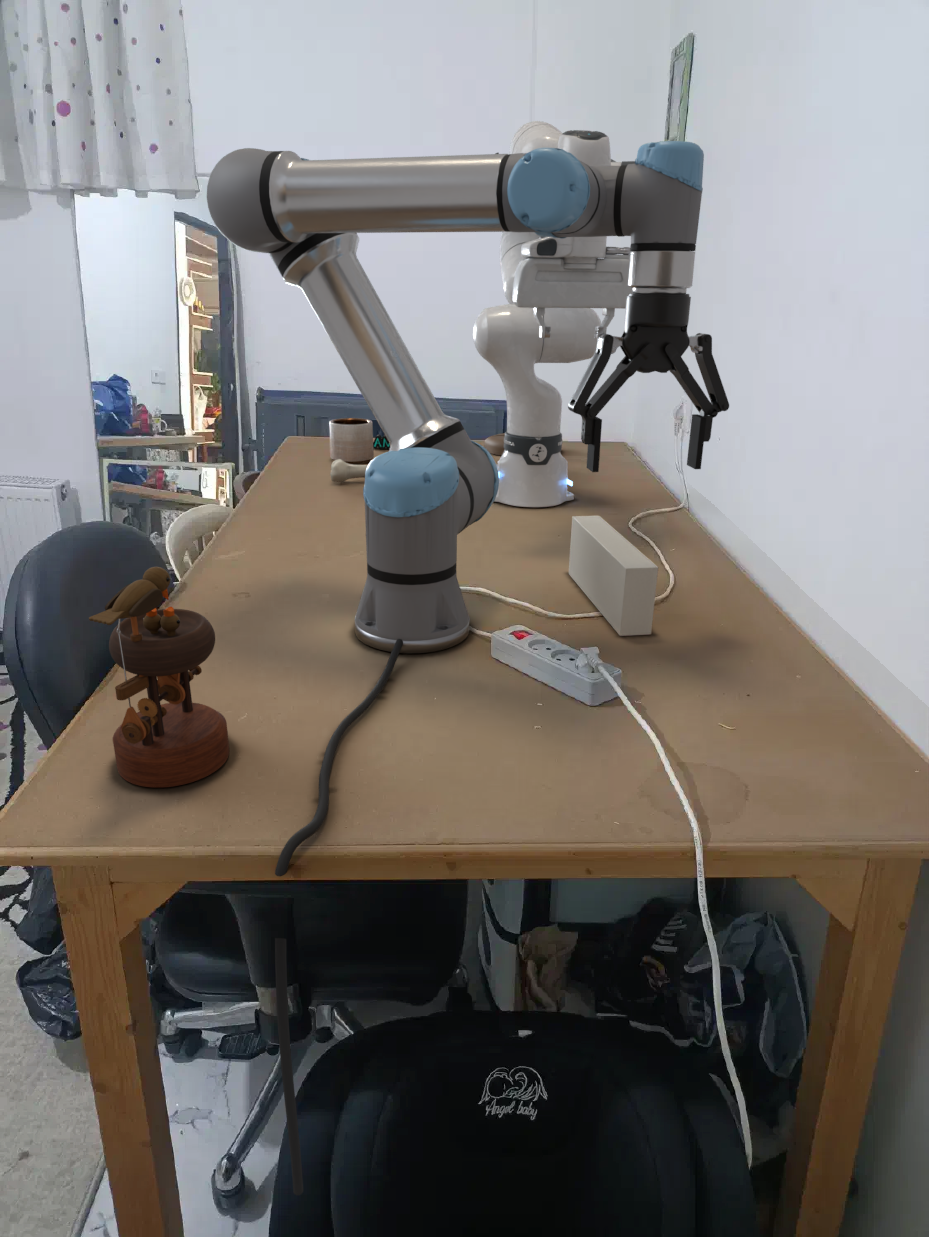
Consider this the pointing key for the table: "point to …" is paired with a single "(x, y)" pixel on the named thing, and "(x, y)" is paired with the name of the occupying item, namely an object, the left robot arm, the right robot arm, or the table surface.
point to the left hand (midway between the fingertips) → (643, 468)
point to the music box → (162, 687)
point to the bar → (613, 575)
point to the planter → (351, 440)
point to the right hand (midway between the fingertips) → (572, 337)
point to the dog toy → (346, 471)
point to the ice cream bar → (495, 444)
